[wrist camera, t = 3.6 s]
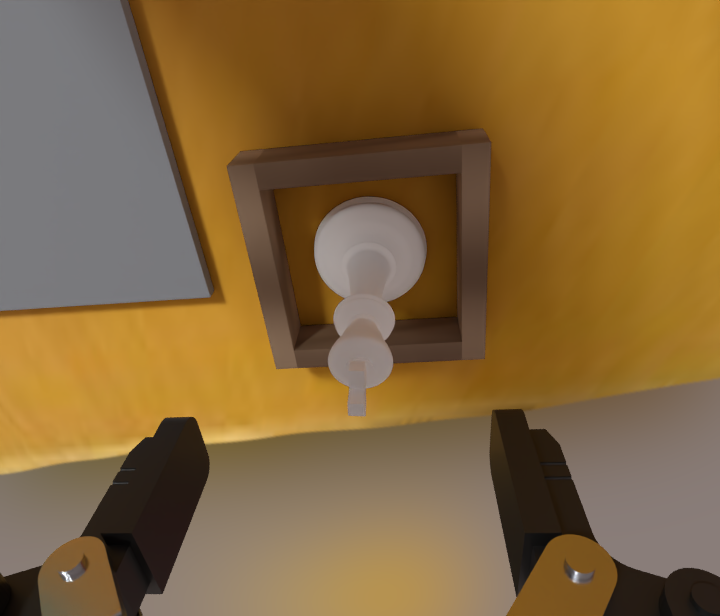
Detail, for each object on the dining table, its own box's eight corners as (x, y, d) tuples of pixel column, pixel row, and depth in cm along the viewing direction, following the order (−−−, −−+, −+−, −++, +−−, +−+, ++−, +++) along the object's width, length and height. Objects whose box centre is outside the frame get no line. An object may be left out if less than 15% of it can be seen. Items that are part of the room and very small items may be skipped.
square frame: (240, 151, 20) (226, 166, 19) (482, 128, 19) (491, 141, 18) (284, 343, 25) (276, 368, 24) (478, 333, 24) (484, 358, 23)
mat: (-225, 3, 18) (-242, 3, 18) (114, -44, 17) (106, -45, 17) (-39, 307, 25) (-48, 313, 25) (214, 290, 24) (210, 297, 23)
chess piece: (429, 195, 21) (453, 337, 12) (424, 298, 24) (441, 473, 15) (310, 196, 21) (254, 335, 13) (318, 297, 24) (276, 468, 15)
